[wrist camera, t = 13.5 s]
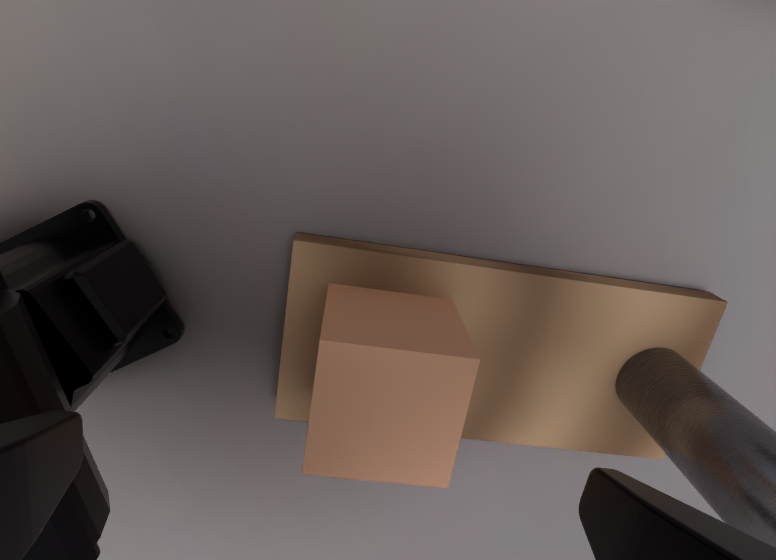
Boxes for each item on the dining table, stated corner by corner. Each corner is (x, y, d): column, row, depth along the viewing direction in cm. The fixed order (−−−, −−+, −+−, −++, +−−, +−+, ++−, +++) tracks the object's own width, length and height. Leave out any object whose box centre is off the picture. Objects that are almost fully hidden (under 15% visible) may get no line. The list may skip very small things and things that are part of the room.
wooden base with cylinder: (278, 402, 23) (193, 732, 11) (296, 232, 21) (211, 423, 9) (649, 443, 25) (917, 762, 13) (709, 291, 23) (1110, 516, 11)
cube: (313, 392, 22) (301, 474, 17) (328, 282, 20) (319, 339, 15) (429, 405, 22) (448, 488, 18) (452, 299, 21) (480, 359, 16)
